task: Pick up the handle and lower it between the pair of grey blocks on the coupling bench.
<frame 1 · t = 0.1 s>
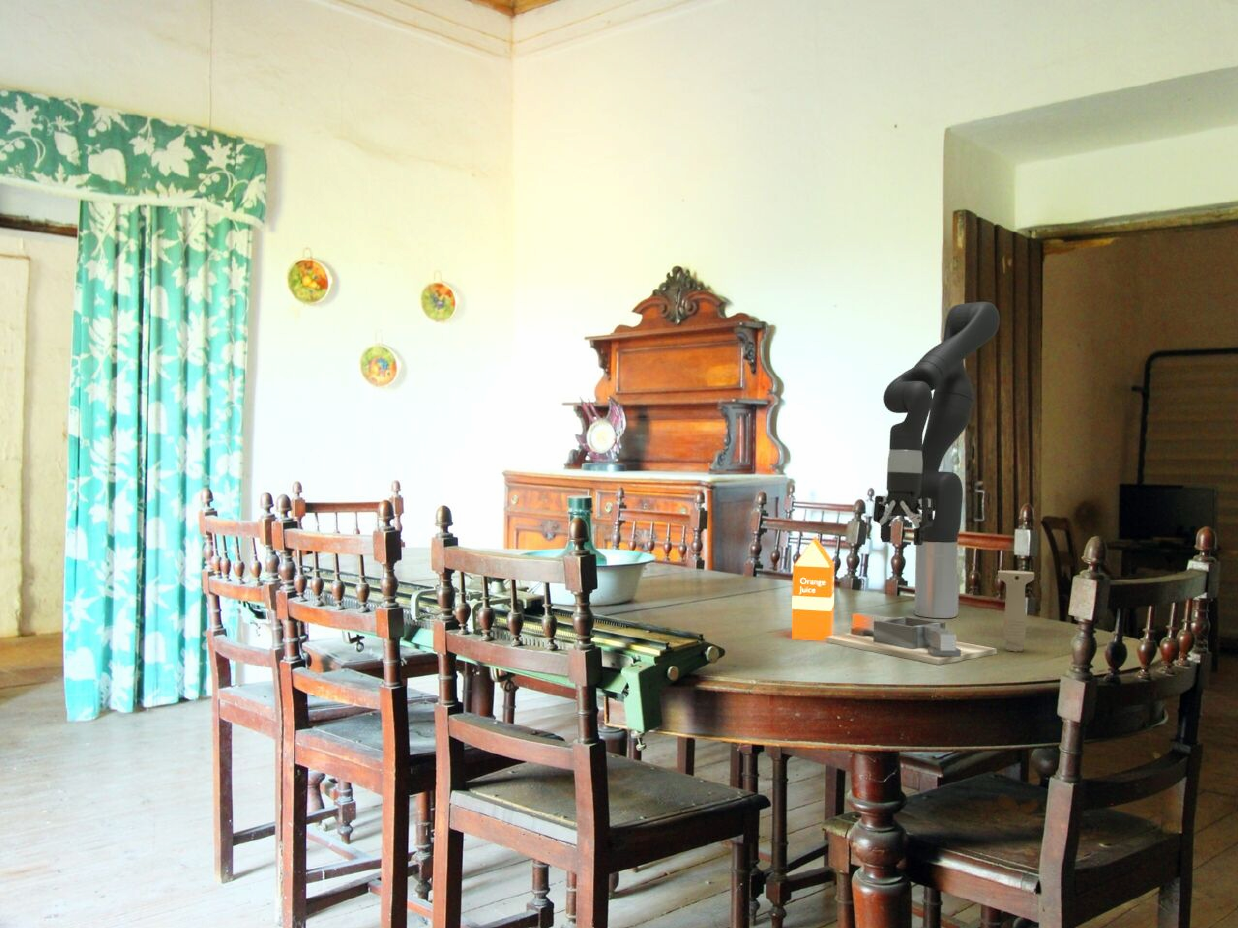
hand: (901, 543, 229), 17 cm above the table, tool pointing down, fingers open, 8 cm apart
coupling bench: (908, 647, 198), on the table
handle: (1014, 651, 197), on the table
orange juice: (812, 636, 210), on the table
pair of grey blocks: (903, 633, 196), in the coupling bench, point 3 cm above the table
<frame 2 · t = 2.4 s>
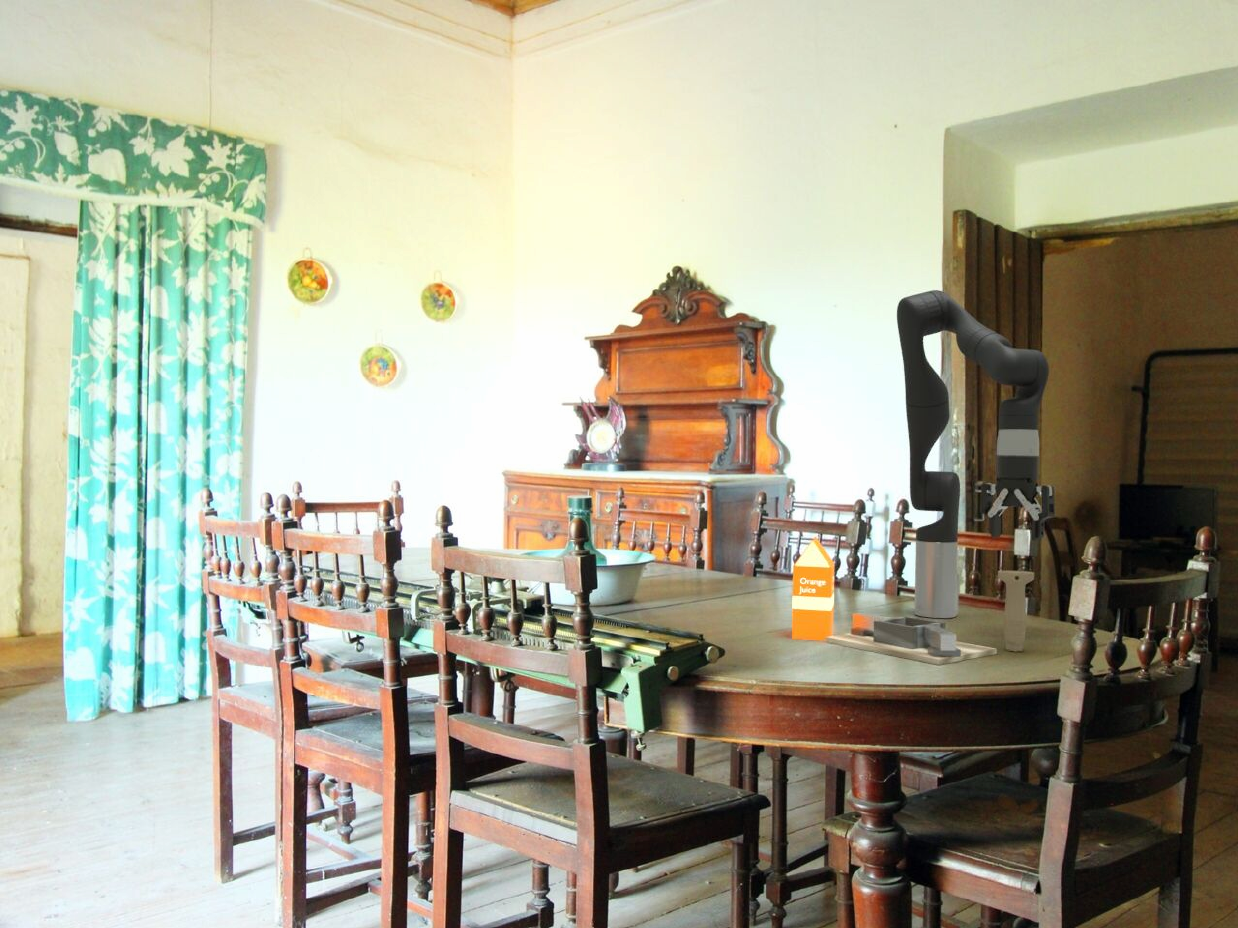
hand: (1015, 538, 197), 21 cm above the table, tool pointing down, fingers open, 8 cm apart
nothing on the table moved.
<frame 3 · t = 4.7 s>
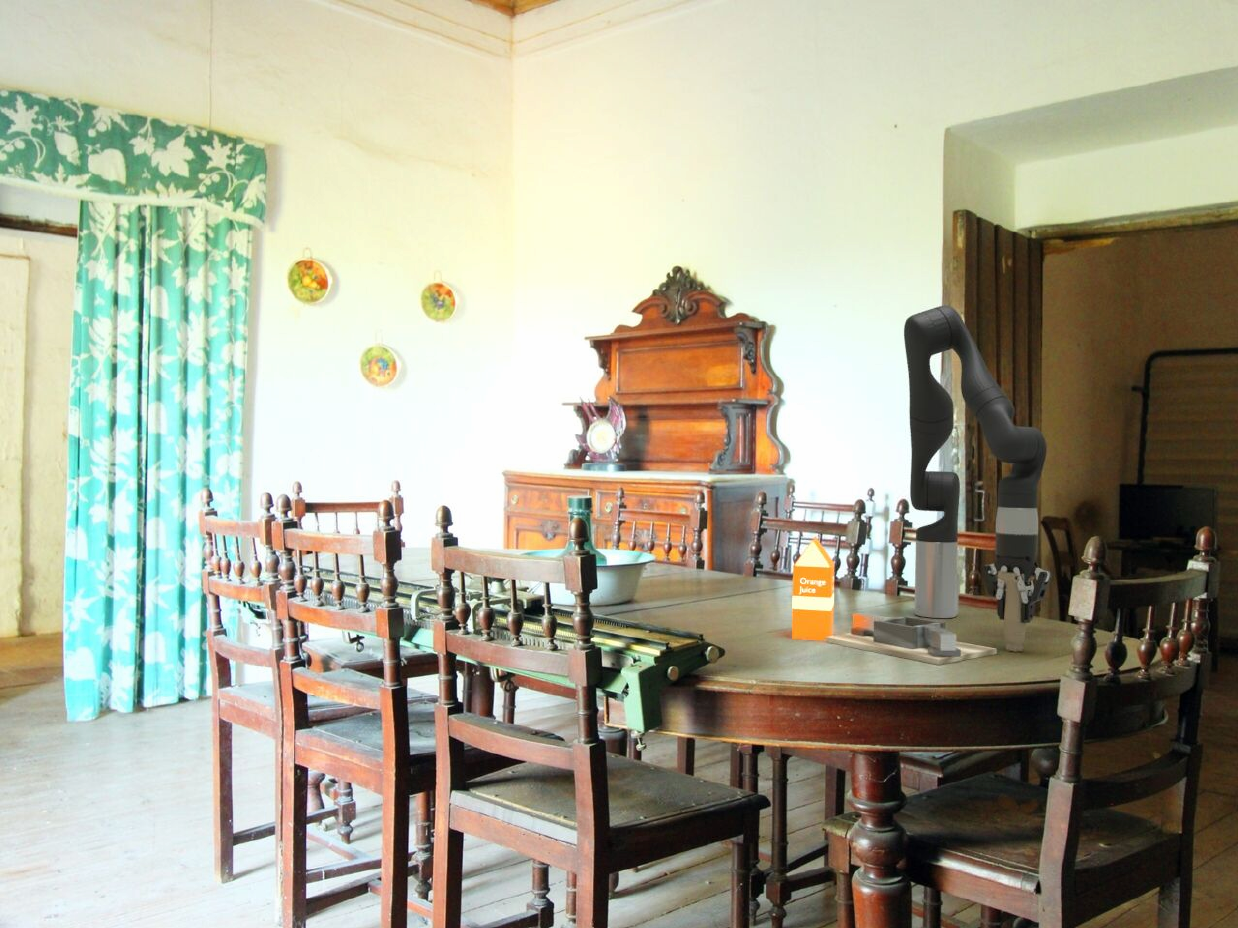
hand: (1014, 620, 197), 6 cm above the table, tool pointing down, fingers closed on handle, 4 cm apart
handle: (1014, 651, 197), on the table, touching gripper
everything else where it was.
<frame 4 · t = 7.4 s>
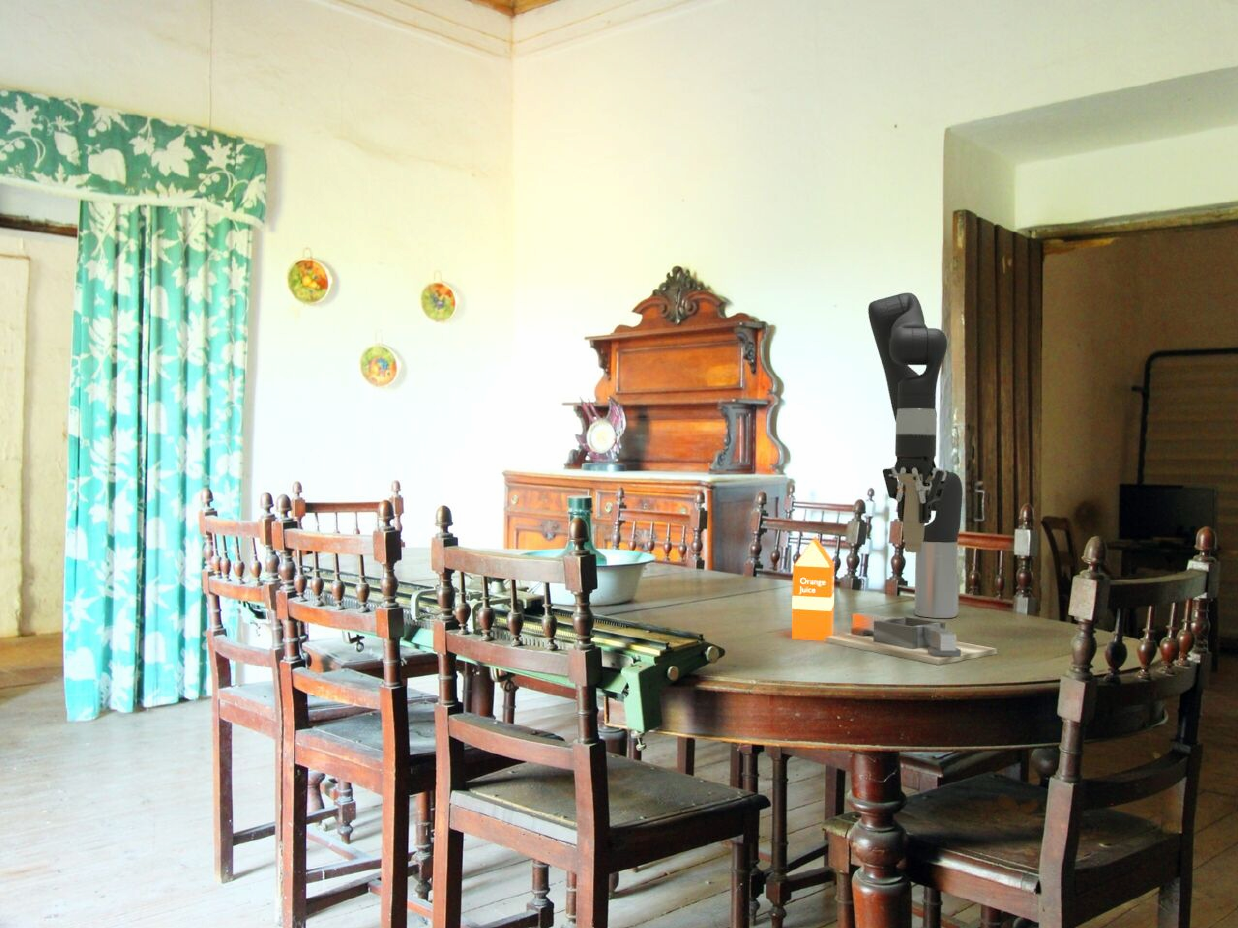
hand: (913, 521, 198), 24 cm above the table, tool pointing down, fingers closed on handle, 4 cm apart
handle: (913, 552, 198), point 18 cm above the table, touching gripper
everything else where it was.
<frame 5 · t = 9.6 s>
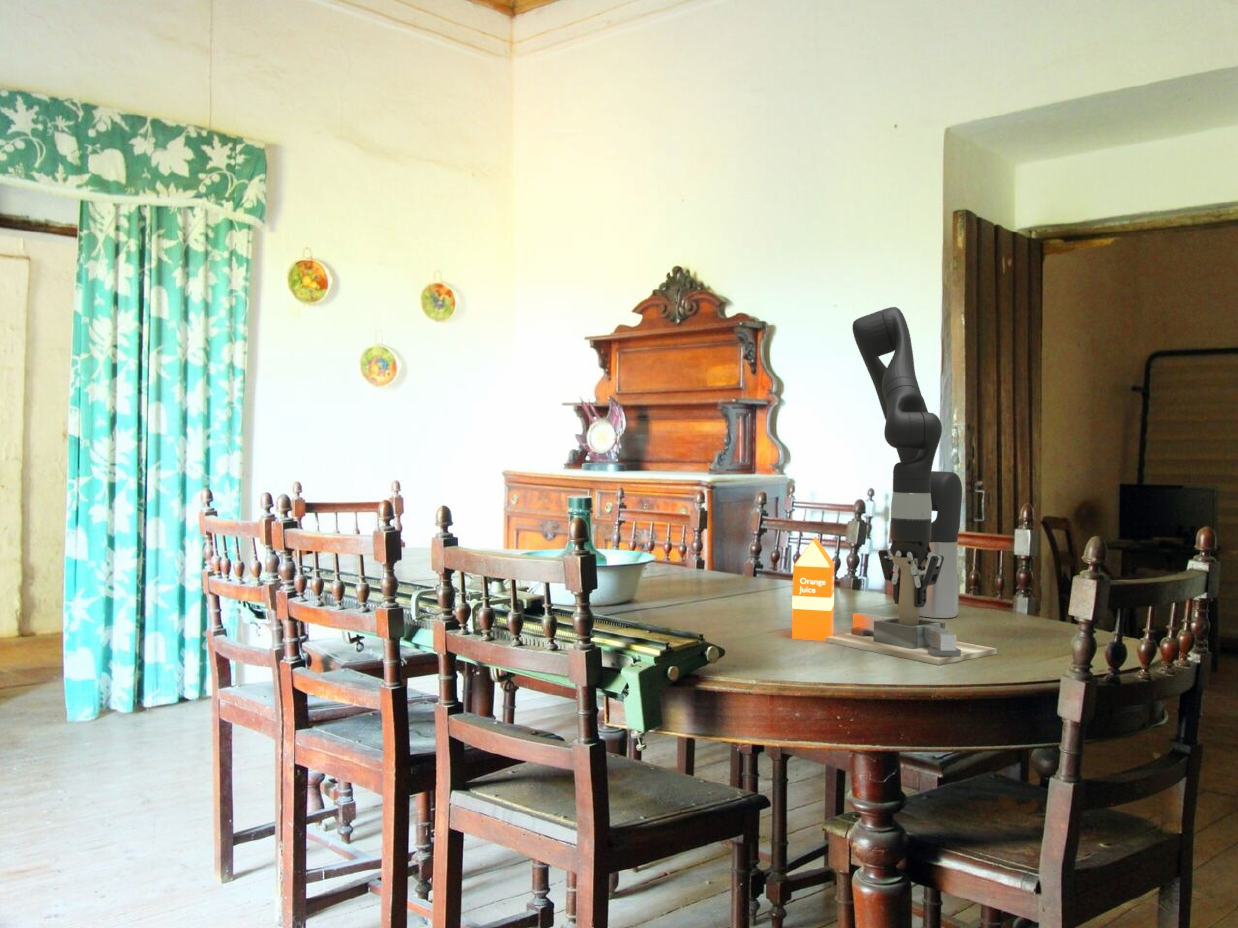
hand: (909, 604, 198), 8 cm above the table, tool pointing down, fingers closed on handle, 4 cm apart
handle: (908, 635, 198), point 2 cm above the table, touching gripper
everything else where it was.
when the fingers open (8 cm above the table, at t = 10.3 s): handle drops 1 cm, resting on coupling bench.
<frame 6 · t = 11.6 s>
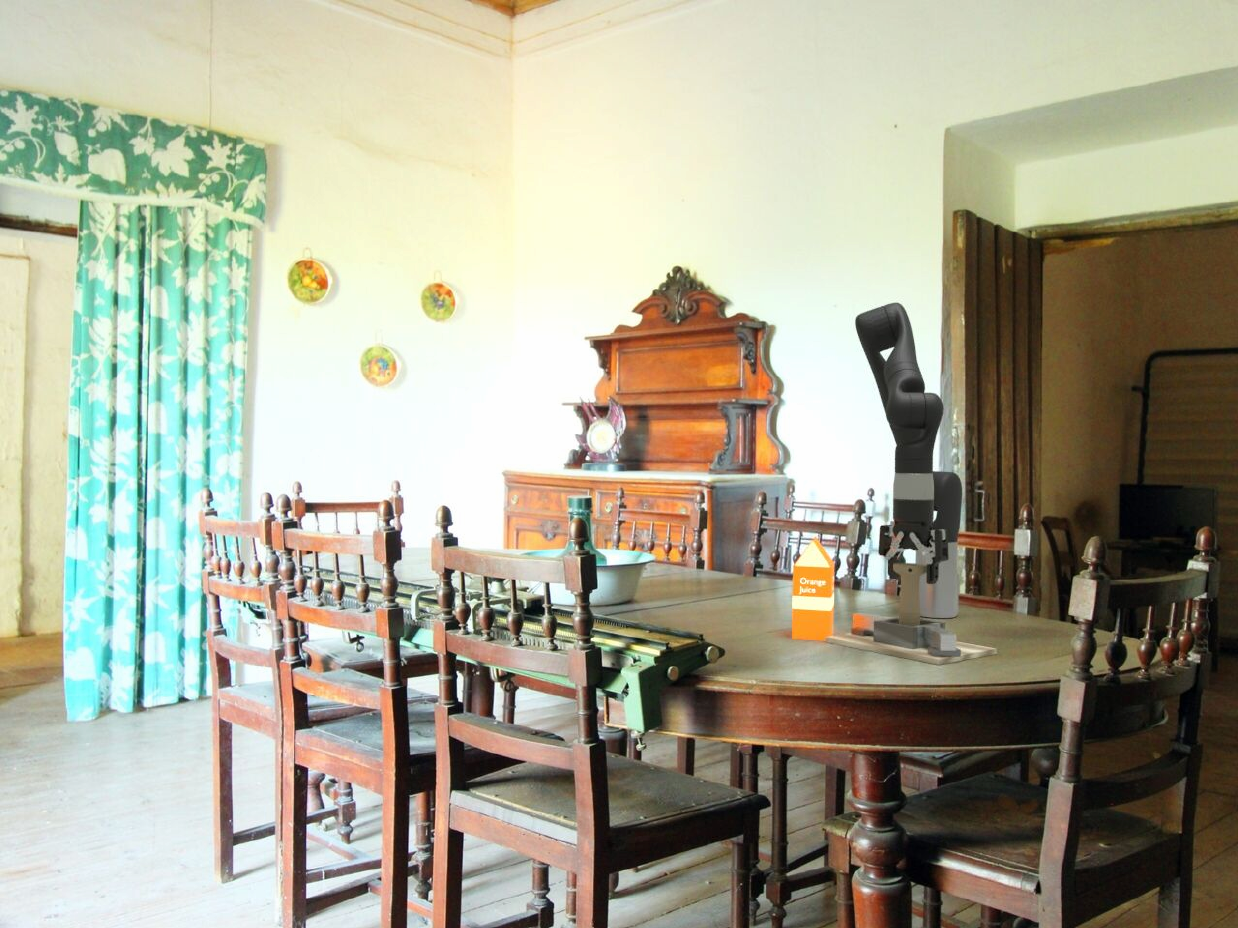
hand: (912, 581, 198), 13 cm above the table, tool pointing down, fingers open, 8 cm apart
handle: (908, 643, 198), point 1 cm above the table, touching coupling bench
everything else where it was.
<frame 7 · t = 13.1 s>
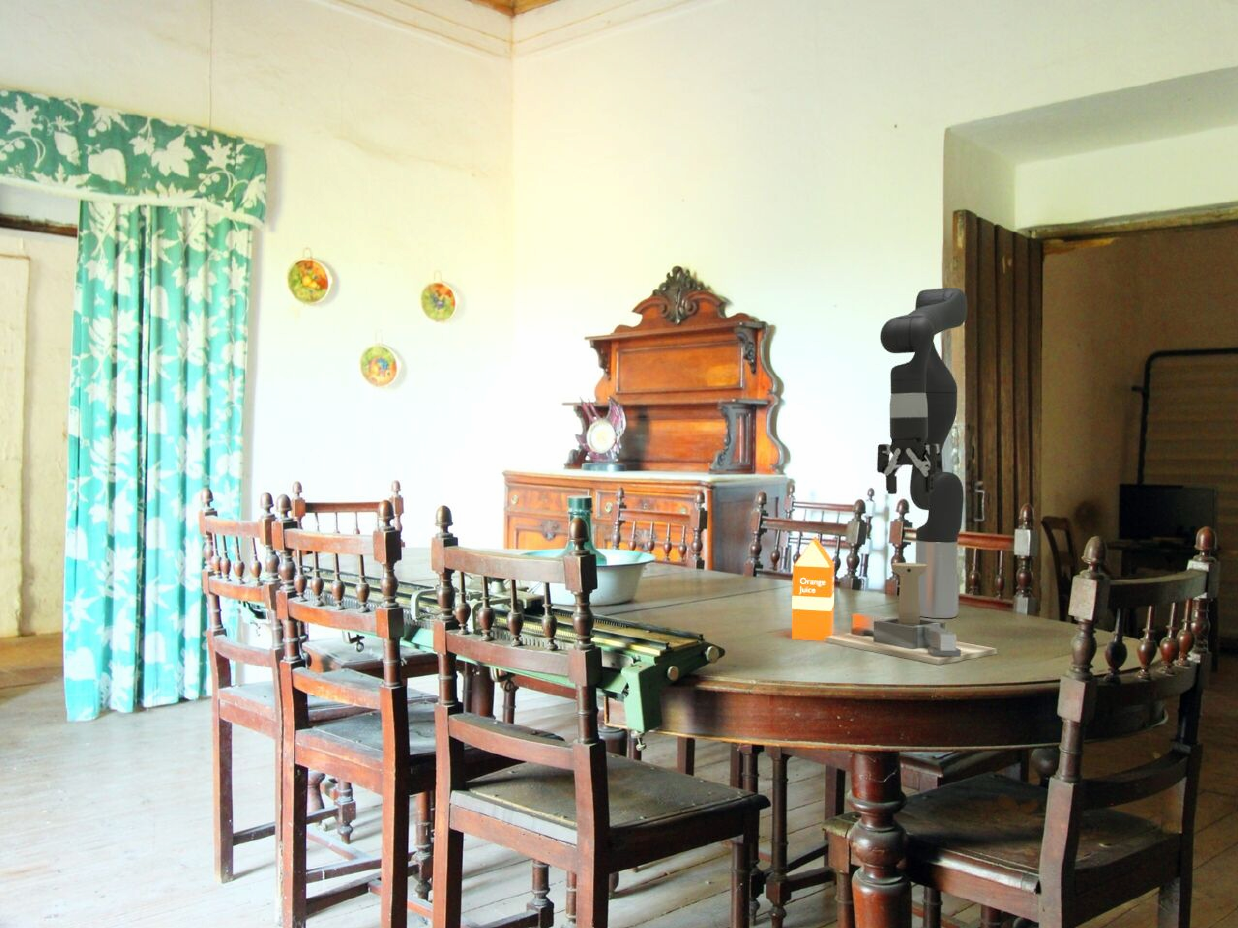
hand: (909, 494, 213), 29 cm above the table, tool pointing down, fingers open, 8 cm apart
nothing on the table moved.
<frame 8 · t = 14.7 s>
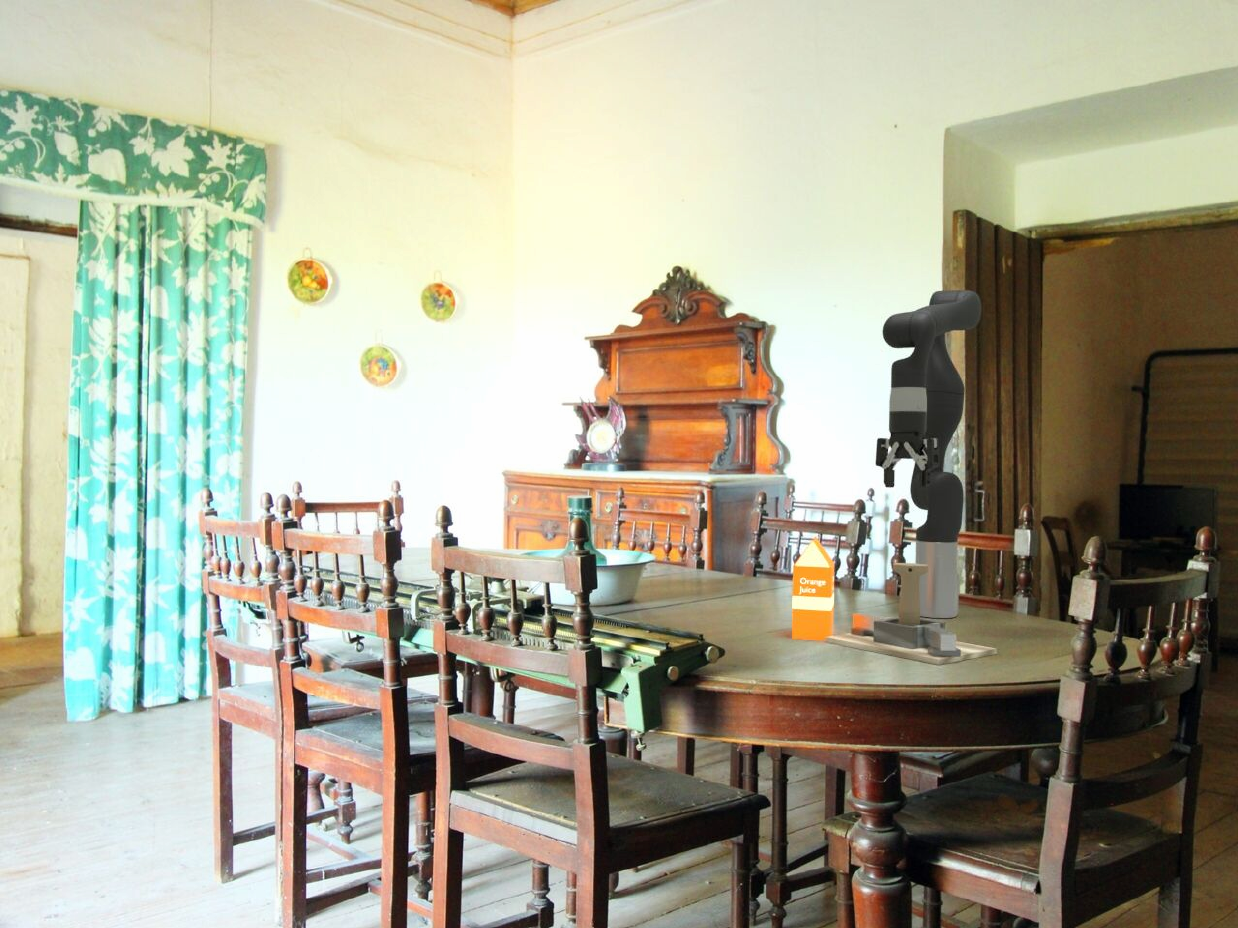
hand: (906, 488, 214), 30 cm above the table, tool pointing down, fingers open, 8 cm apart
nothing on the table moved.
at the end: handle inside the target area on the coupling bench (0.0 cm from its centre), point 0.8 cm above the coupling bench's base; handle tilted 0°; the gripper is holding nothing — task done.
